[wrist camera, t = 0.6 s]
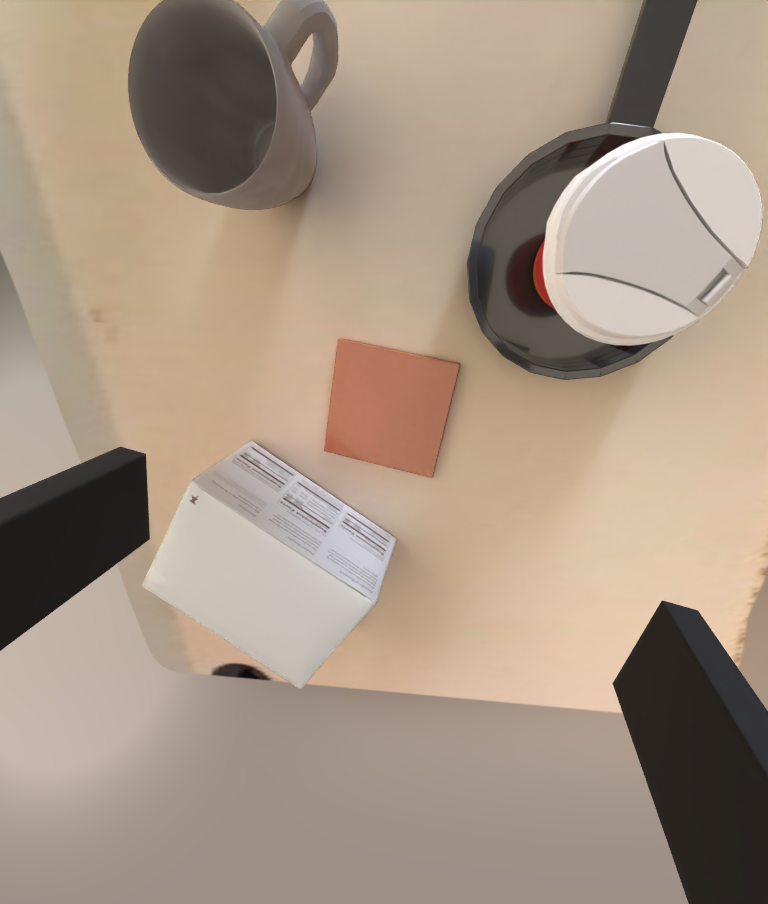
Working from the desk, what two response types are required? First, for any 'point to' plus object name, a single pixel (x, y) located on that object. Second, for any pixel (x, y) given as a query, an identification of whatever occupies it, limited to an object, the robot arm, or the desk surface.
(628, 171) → the paper cup
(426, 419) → the coaster
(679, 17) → the pan handle
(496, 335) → the pan
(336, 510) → the supplement box
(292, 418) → the desk surface
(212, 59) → the mug
